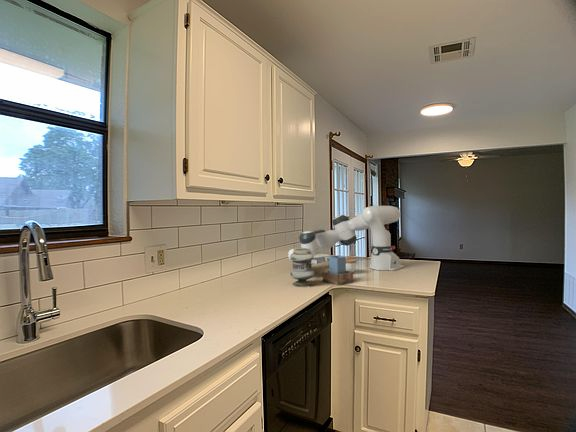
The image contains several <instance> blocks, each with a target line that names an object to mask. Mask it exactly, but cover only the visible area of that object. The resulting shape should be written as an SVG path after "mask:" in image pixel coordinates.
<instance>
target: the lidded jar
mask: <svg viewBox="0 0 576 432" xmlns="http://www.w3.org/2000/svg"><path fill="white" fill-rule="evenodd" d="M357 263H358V260H357V259H355V258H349V256H346V271H349V272H353V273H354V272H355V271H356V269H357V266H358V264H357Z"/></svg>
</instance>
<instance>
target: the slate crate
mask: <svg viewBox="0 0 576 432" xmlns="http://www.w3.org/2000/svg"><path fill="white" fill-rule="evenodd" d="M330 256H331V255H330ZM346 258H347V256H342V255H333V256H331V257H329V262H328V263H329V264H328V267H329V269H328V271H329V273H332V274H337V275H339V274H344V273H346Z"/></svg>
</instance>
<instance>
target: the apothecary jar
mask: <svg viewBox="0 0 576 432" xmlns="http://www.w3.org/2000/svg"><path fill="white" fill-rule="evenodd" d="M293 249H294V250H293V254H291V256H290V258H291V260H292V261H293V262H292V261H291V262H292V269H291V271H290V276H291V278H293V279H295V280H296V281H294V282H292V285H293V286H294V287H300V288H307V287H310V286H312V285H313V283H312V282H311V281H309V279H312V278H313V277H314V276H315V271H314V270H313V269H312V268H313V267H312V265H313V264H312V265H311V260H313V258H314V256H313V254H312V253H311V252H310V249H308V248H300V247H299V248H293Z"/></svg>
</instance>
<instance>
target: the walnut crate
mask: <svg viewBox="0 0 576 432" xmlns="http://www.w3.org/2000/svg"><path fill="white" fill-rule="evenodd" d="M322 282H324V283H328V284H332V285H336V286H341V285H345V284H346V285H347V284H350V283H353V282H354V272H349V271H346V273H344V274H339V275H337V274H332V273H329V270H326V271H322Z"/></svg>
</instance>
